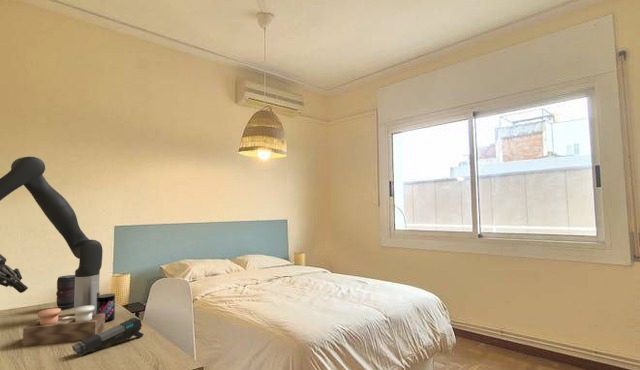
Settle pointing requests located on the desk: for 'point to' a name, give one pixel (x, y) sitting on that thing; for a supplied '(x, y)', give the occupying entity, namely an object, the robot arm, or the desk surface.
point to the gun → (109, 336)
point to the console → (63, 330)
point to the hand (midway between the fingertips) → (24, 290)
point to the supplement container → (106, 306)
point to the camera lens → (65, 292)
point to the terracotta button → (49, 316)
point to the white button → (83, 313)
